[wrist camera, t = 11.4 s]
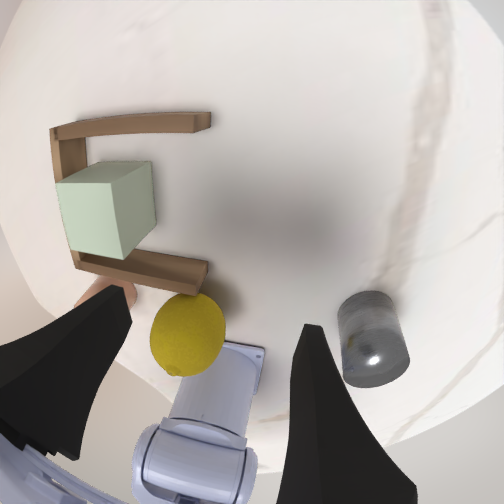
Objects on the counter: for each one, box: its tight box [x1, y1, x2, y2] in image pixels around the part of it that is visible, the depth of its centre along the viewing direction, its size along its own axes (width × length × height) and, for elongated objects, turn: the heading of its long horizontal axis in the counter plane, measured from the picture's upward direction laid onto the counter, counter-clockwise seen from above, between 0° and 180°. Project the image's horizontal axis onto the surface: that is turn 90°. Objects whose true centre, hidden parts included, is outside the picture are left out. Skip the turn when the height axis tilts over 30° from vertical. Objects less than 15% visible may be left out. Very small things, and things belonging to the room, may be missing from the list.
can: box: [338, 291, 410, 388], centre depth 19 cm, size 5×5×6 cm
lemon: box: [150, 293, 226, 377], centre depth 20 cm, size 6×6×8 cm
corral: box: [49, 112, 211, 296], centre depth 17 cm, size 12×12×3 cm
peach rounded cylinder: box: [74, 275, 137, 310], centre depth 22 cm, size 4×4×5 cm
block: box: [55, 161, 156, 260], centre depth 17 cm, size 5×5×5 cm
